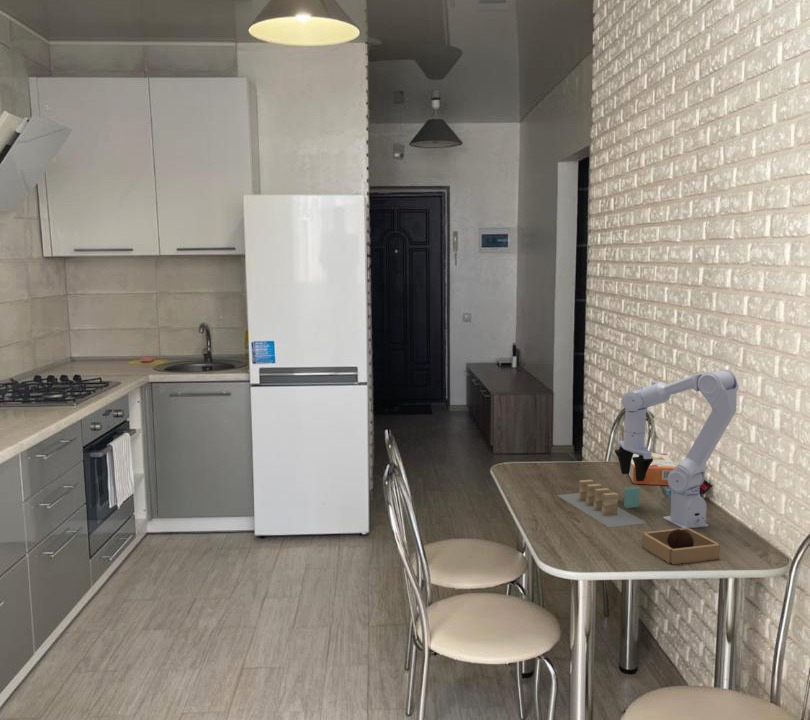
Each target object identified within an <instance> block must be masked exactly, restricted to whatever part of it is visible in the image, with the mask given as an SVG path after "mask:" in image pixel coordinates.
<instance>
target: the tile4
mask: <svg viewBox="0 0 810 720" xmlns="http://www.w3.org/2000/svg"><path fill="white" fill-rule="evenodd" d="M601 488H602V484H599V483H593V484H590V485H586V505H587V506H594V489H601Z"/></svg>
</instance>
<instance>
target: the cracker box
mask: <svg viewBox="0 0 810 720" xmlns="http://www.w3.org/2000/svg"><path fill="white" fill-rule="evenodd" d="M633 457H639V455H637V454H633ZM651 458H653V461H652V463H651V464H650V466H649V468H648V470H647V472H646V475H645V478H644V481H636V471H635V464H634V461H633V459H632V460H631V466H630V472H629V474H628V476H629V477H630V480H631V482H632V483H633V484H634V485H635V484H636V485H639V484H640V485H653V486H654V485H655V486H669V485H668V481H667V478H668V475H669V473H670V472H671V471H673V470H674V469H676V467H677V466H676V465H675V463H674V461H672V459H671V458H670V456H669V455H668V453H664V452H662V453H661V452H658V453H657V452H652V453H651Z"/></svg>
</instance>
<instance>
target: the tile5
mask: <svg viewBox="0 0 810 720" xmlns="http://www.w3.org/2000/svg"><path fill="white" fill-rule="evenodd" d="M590 484H594V480H592V479H584V480H583V479H580V480H578V492H577V493H578V500H579V501H581V502H582V501H586V485H590Z"/></svg>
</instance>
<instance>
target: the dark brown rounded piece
mask: <svg viewBox="0 0 810 720" xmlns="http://www.w3.org/2000/svg"><path fill="white" fill-rule="evenodd" d="M675 529H676V530H673V531H672V532H670V534H669V536H668V538H667V542H668V544H666V545H667V546H669V547H671V548H672V549H677V548H685V547H694V546H693V545H694V540H693V537H692V535H691V534H690V533H689V532H687V531H685V530H682V529H678V528H675Z"/></svg>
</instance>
